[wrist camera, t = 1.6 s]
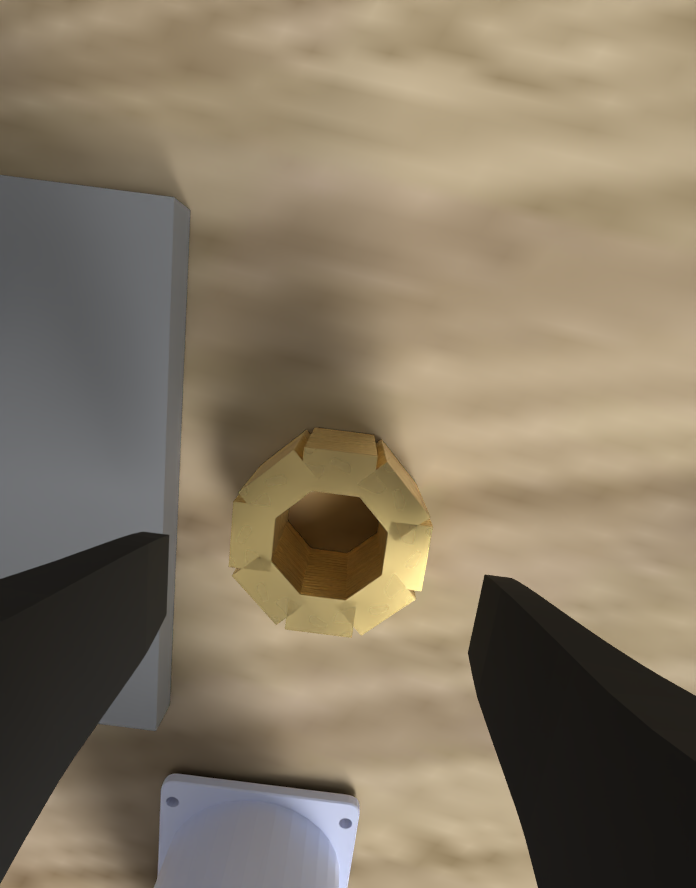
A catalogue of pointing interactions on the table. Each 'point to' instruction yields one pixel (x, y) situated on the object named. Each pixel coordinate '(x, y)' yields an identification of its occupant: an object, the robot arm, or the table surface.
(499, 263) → the table surface
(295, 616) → the brass gear
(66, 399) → the gear board
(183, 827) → the robot arm
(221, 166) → the table surface
